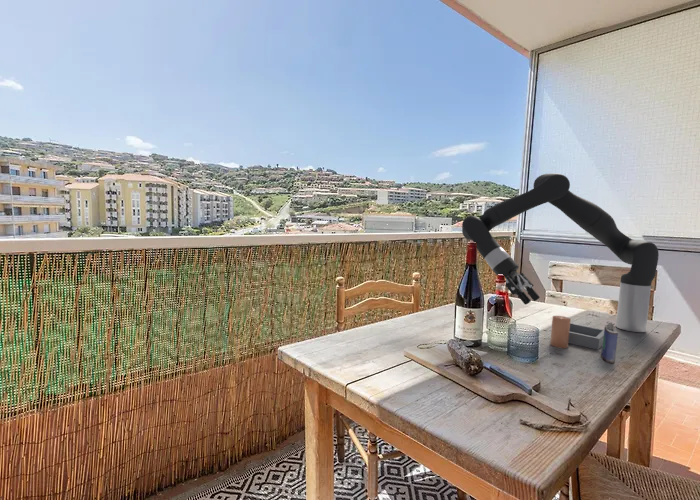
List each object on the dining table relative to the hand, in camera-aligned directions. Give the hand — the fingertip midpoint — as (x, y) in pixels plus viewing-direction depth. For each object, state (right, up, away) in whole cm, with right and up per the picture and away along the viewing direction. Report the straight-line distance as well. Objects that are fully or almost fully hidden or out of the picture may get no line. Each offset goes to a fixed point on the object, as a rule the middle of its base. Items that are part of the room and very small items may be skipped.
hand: (533, 301), depth 126 cm
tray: (+16, -13, +2) cm, 21 cm away
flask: (+15, -15, -15) cm, 26 cm away
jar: (+6, -13, -5) cm, 15 cm away
